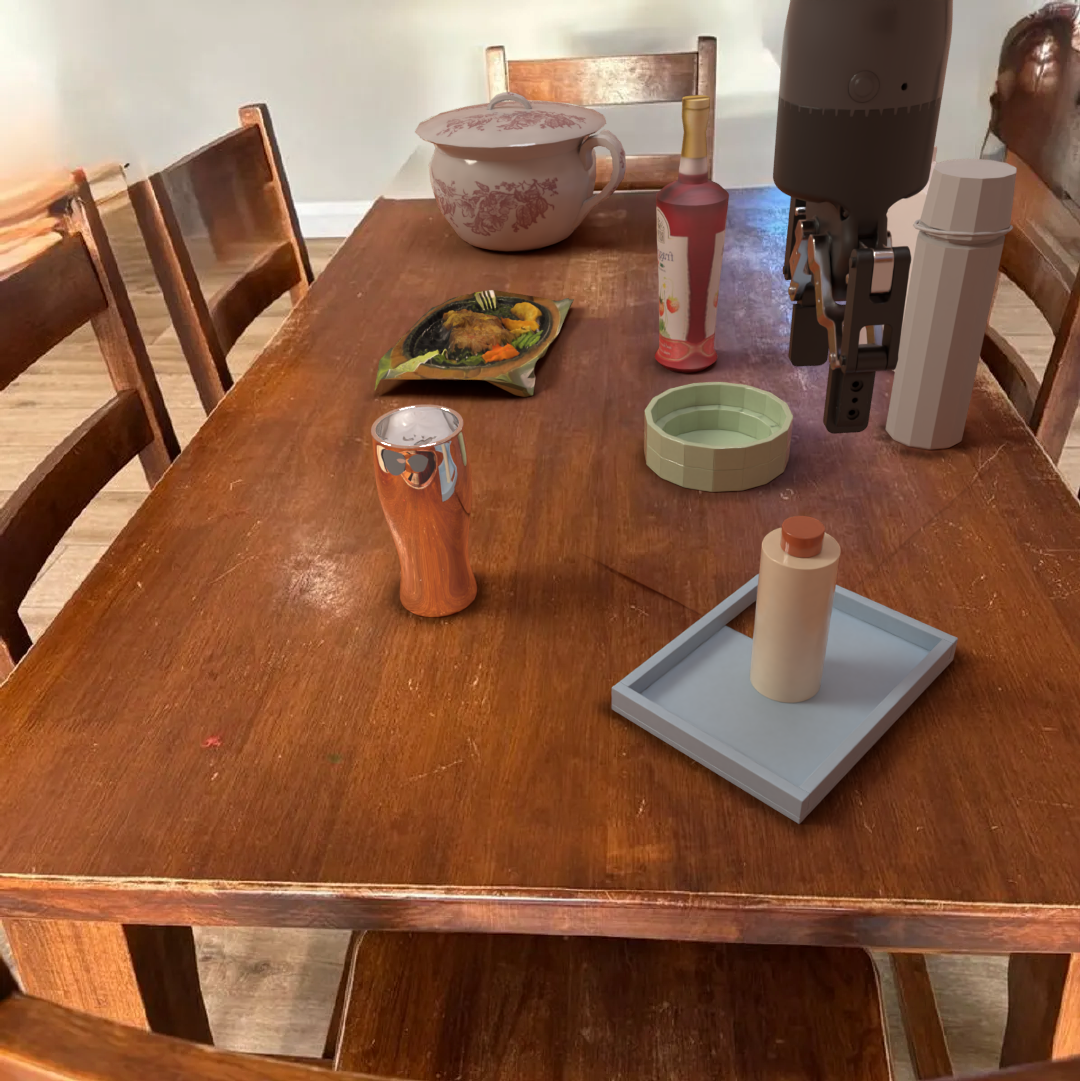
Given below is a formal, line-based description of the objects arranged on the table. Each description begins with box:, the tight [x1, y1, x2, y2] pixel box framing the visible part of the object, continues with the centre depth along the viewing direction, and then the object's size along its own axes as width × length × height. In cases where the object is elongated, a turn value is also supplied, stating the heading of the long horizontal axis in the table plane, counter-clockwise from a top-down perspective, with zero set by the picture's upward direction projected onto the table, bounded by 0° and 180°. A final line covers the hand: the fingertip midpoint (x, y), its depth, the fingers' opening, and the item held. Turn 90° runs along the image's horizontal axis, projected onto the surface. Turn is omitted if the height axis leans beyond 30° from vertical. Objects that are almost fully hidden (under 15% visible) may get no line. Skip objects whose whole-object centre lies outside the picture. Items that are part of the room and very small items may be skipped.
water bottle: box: [885, 158, 1018, 451], centre depth 91 cm, size 9×8×25 cm
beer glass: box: [370, 403, 478, 618], centre depth 76 cm, size 7×7×15 cm
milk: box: [859, 145, 938, 373], centre depth 106 cm, size 6×6×22 cm
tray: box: [611, 573, 959, 825], centre depth 69 cm, size 20×15×2 cm
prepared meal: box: [373, 289, 575, 398], centre depth 119 cm, size 28×4×18 cm
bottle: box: [750, 515, 842, 703], centre depth 66 cm, size 5×5×12 cm
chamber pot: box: [414, 91, 627, 253], centre depth 148 cm, size 28×28×21 cm
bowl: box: [643, 381, 794, 493], centre depth 94 cm, size 13×13×5 cm
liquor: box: [654, 94, 730, 374], centre depth 105 cm, size 7×7×28 cm
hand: (824, 394), depth 57 cm, fingers open, 8 cm apart
